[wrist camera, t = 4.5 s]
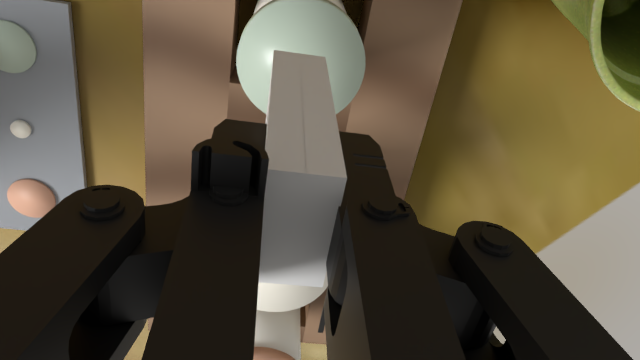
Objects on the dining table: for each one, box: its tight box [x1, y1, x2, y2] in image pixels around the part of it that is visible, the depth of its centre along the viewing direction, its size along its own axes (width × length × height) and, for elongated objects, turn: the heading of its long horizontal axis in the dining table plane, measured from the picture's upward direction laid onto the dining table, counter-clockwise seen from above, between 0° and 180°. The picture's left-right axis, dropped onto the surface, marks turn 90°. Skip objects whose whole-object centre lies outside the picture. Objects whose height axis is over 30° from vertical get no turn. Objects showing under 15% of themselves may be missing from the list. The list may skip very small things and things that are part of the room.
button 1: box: [253, 308, 301, 360], centre depth 28 cm, size 5×5×7 cm
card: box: [0, 0, 87, 230], centre depth 28 cm, size 14×6×1 cm, turn 171°
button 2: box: [236, 0, 365, 114], centre depth 22 cm, size 5×5×7 cm
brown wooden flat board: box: [142, 0, 463, 344], centre depth 28 cm, size 25×14×2 cm, turn 171°
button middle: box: [257, 270, 328, 312], centre depth 24 cm, size 5×5×7 cm
